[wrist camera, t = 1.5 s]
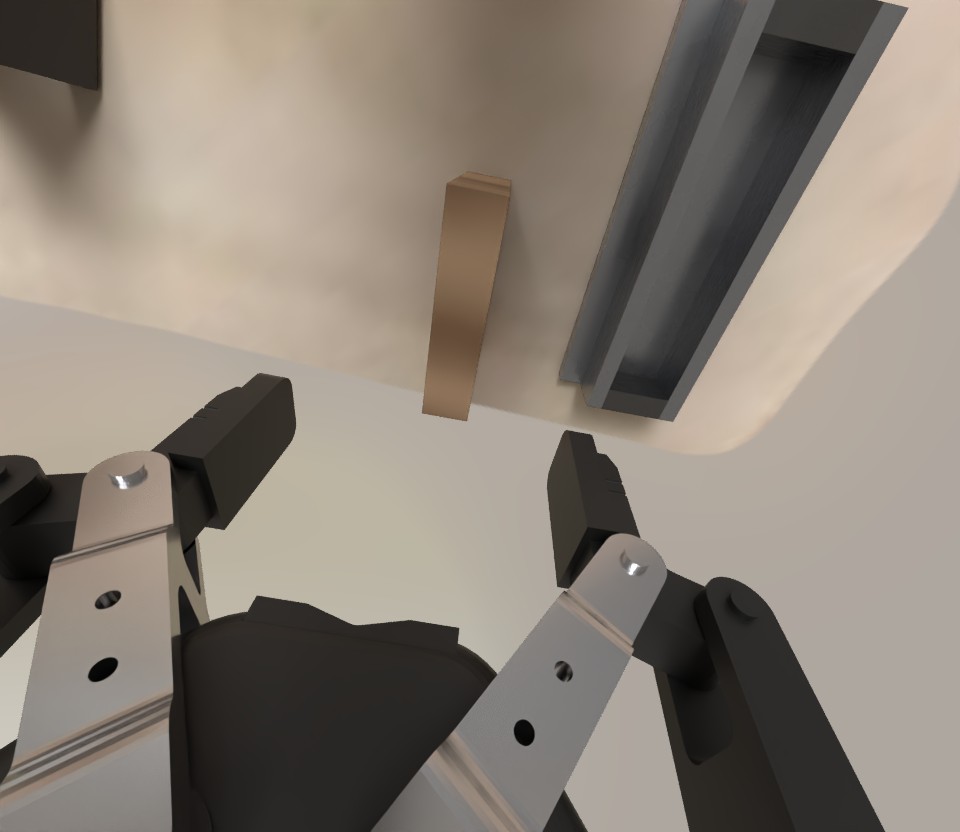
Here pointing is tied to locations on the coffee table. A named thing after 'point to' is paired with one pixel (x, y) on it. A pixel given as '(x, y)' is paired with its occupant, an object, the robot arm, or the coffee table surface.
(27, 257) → the coffee table surface
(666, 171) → the bottom track
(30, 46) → the phone stand
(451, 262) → the door panel
